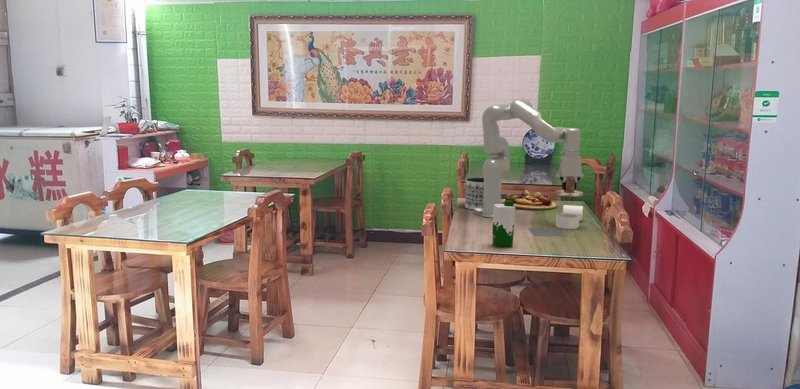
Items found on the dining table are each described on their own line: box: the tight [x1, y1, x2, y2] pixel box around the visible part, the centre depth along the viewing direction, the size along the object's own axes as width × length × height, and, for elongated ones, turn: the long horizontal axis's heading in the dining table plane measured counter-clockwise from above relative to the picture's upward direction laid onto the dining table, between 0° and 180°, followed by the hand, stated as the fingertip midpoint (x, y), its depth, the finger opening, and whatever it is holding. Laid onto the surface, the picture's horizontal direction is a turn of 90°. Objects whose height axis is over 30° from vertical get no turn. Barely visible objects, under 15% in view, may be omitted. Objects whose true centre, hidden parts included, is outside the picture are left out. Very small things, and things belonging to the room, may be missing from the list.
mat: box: [527, 227, 569, 237], centre depth 304 cm, size 16×16×1 cm
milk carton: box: [491, 200, 516, 248], centre depth 278 cm, size 9×9×20 cm
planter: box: [464, 177, 484, 211], centre depth 364 cm, size 18×18×16 cm
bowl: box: [555, 212, 580, 230], centre depth 317 cm, size 11×11×6 cm
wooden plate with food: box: [501, 189, 558, 212], centre depth 374 cm, size 32×32×8 cm
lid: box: [554, 179, 584, 198], centre depth 313 cm, size 14×14×7 cm
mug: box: [562, 204, 584, 222], centre depth 335 cm, size 12×10×8 cm
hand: (569, 189), depth 314 cm, fingers closed on lid, 4 cm apart
